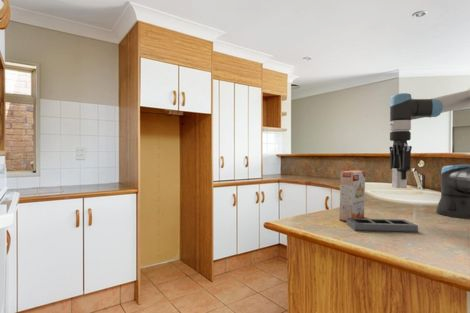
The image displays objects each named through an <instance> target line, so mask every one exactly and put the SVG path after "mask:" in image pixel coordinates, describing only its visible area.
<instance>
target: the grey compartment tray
mask: <svg viewBox="0 0 470 313" xmlns="http://www.w3.org/2000/svg"><path fill="white" fill-rule="evenodd" d="M346 225H347V226H349V227H350V228H351V229H352V230H353V231H356V232H387V233H388V232H390V233H392V232H393V233H394V232H395V233H418V232H419V225H418V224H415V223H413V222H412V221H409V220H406V219H404V218H403V219H398V218H364V217H363V218H347V221H346Z"/></svg>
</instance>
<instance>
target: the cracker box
mask: <svg viewBox="0 0 470 313" xmlns="http://www.w3.org/2000/svg"><path fill="white" fill-rule="evenodd" d="M339 179H340V183H339V219H338V220H340V221H343V222H347V218H364V217H365V200H366V197H365V196H366V193H365V191H366V171H365V170H345V171H340V178H339Z"/></svg>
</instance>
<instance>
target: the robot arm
mask: <svg viewBox="0 0 470 313" xmlns="http://www.w3.org/2000/svg"><path fill="white" fill-rule="evenodd" d="M469 107H470V87H469V88H468V89H466V90H464V91H459V92H455V93H454V92H453V93H450V94H446V95H441V96H437V97H433V98H416V99H415V98H412V94H411V93H407V92H405V93H402V92H401V93H397V94H393V95H391V97H390V101H389V109H390V111H389V124H388V126H389V131H390V132H389V141H391V142H393V143H392V146H389V157H390V158H389V159H390V160H389V161H390V162H389V163H390V164H389V167H390V169H391V170H392V168H400V170H398V171H399V187H402V188H401V189H407V188H406V179H407V180H408V171H411V162H412V161H411V158H412V157H411V156H412V154H411V153H412V148H413V146H412V145H408V141H410V140H411V137H412V135H411V133H412V132H411V130H412V120H416V119H417V120H418V119H422V118H429V119H430V118H437V117H439V116H440V115H441V114H442V113H447V112H452V111H455V110H460V109H461V110H462V109H465V108H469ZM440 175H441V176H440V179H441V180H440V184H441V186H440V187H441V188H440V190H441V191H440V194H441V195H440V199H439V202H438V204H437V206H436V213H437V214H438V215H441V216H446V217H447V216H448V217H454V218H460V219H470V164H454V165H453V164H452V165H444V166H442V168H441V173H440Z"/></svg>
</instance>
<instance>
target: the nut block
mask: <svg viewBox="0 0 470 313" xmlns="http://www.w3.org/2000/svg"><path fill="white" fill-rule="evenodd" d="M398 170H400V168H392V169H391V187H392V188H396V189H403V188H402V187H399V171H398ZM407 185H408V178H407V179H406V188H405V189H408V186H407Z"/></svg>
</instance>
